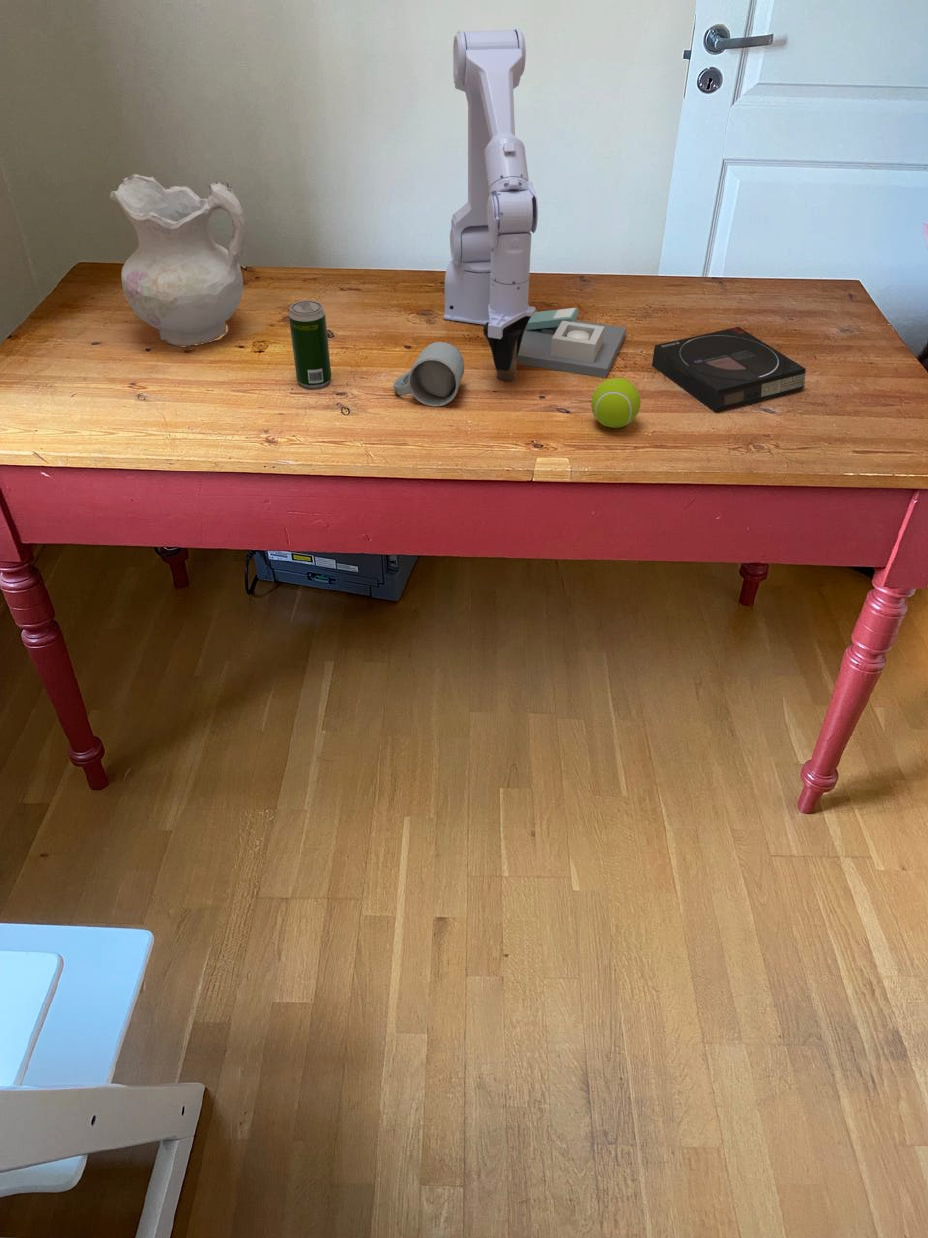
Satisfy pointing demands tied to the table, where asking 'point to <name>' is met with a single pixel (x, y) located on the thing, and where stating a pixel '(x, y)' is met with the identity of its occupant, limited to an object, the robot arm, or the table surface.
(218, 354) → the table surface
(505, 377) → the dowel
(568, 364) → the panel
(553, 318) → the block
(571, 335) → the cream smooth round part
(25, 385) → the table surface
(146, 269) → the ceramic pitcher
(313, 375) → the beer can
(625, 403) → the tennis ball
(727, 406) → the portable cd player
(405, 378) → the ceramic mug
